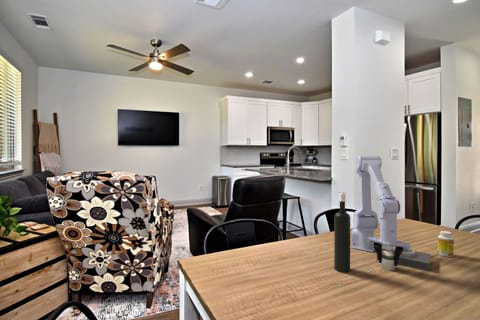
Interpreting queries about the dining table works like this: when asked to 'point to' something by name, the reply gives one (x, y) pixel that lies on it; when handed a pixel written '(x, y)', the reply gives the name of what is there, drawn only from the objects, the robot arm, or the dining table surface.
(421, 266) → the camera body
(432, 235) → the dining table surface
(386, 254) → the lens
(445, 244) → the supplement bottle
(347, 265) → the wine bottle
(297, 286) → the dining table surface
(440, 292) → the dining table surface
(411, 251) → the mount ring
